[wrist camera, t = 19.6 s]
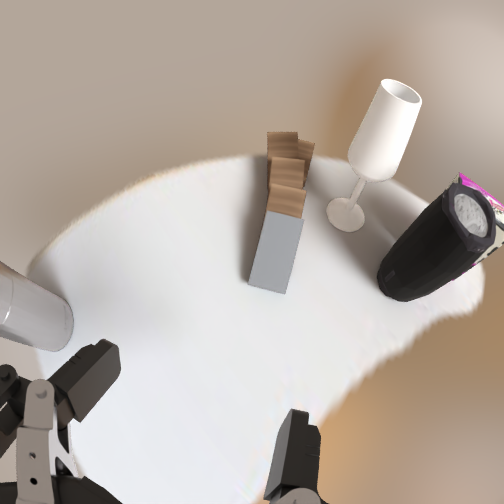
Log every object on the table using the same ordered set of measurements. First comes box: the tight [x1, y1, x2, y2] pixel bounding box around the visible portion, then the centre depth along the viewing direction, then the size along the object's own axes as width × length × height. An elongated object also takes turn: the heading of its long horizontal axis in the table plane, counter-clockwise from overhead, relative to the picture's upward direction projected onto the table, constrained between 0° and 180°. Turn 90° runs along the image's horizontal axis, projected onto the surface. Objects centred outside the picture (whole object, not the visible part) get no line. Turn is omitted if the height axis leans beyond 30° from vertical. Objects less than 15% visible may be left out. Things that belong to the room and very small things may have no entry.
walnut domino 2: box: [267, 157, 305, 203], centre depth 41 cm, size 2×5×10 cm
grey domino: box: [248, 211, 304, 294], centre depth 37 cm, size 2×5×10 cm
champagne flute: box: [327, 79, 422, 232], centre depth 32 cm, size 7×7×24 cm
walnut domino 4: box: [298, 139, 315, 187], centre depth 47 cm, size 2×5×10 cm
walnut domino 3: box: [257, 183, 306, 247], centre depth 39 cm, size 2×5×10 cm
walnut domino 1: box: [267, 132, 299, 190], centre depth 43 cm, size 2×5×10 cm
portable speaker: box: [377, 182, 496, 302], centre depth 29 cm, size 9×9×20 cm
